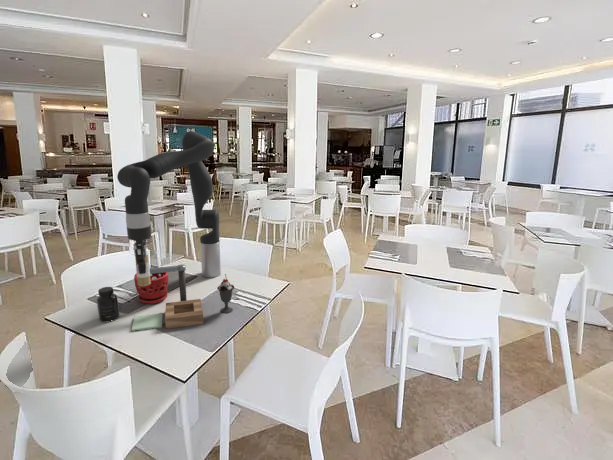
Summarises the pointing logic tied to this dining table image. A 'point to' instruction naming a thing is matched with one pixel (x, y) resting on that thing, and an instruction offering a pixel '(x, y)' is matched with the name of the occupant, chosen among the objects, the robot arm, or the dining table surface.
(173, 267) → the bar
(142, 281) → the sprinkles bottle
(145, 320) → the green mat
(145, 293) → the plant pot
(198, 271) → the dining table surface
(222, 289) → the sundae
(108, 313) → the supplement bottle
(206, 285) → the dining table surface
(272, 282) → the dining table surface
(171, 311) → the walnut dock
